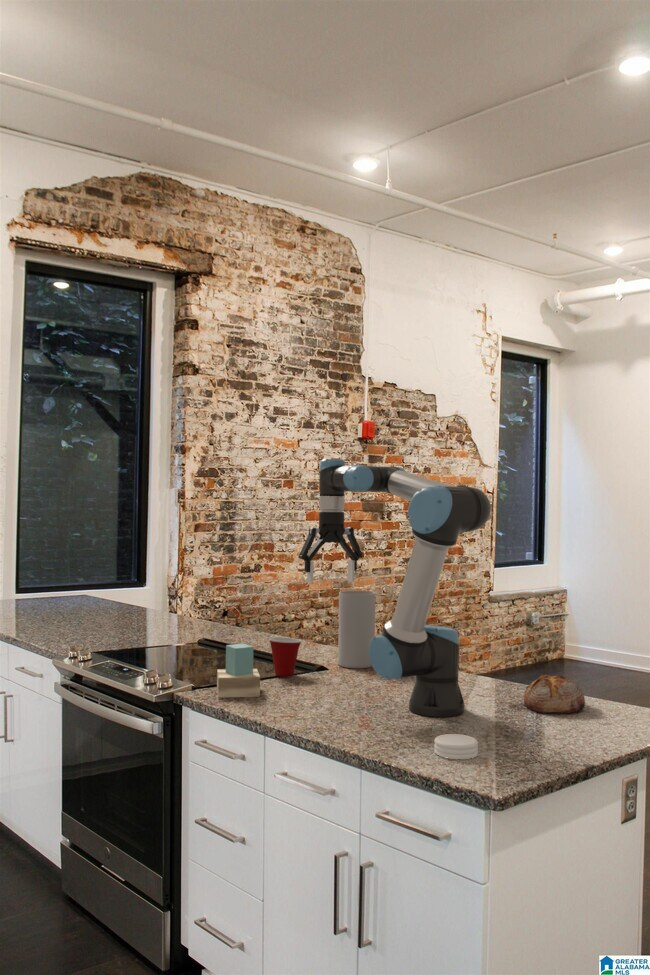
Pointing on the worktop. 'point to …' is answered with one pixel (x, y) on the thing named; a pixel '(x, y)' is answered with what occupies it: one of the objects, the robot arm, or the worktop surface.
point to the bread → (554, 695)
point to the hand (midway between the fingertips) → (330, 582)
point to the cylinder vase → (356, 628)
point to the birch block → (238, 684)
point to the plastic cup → (284, 655)
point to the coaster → (456, 746)
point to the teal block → (239, 659)
